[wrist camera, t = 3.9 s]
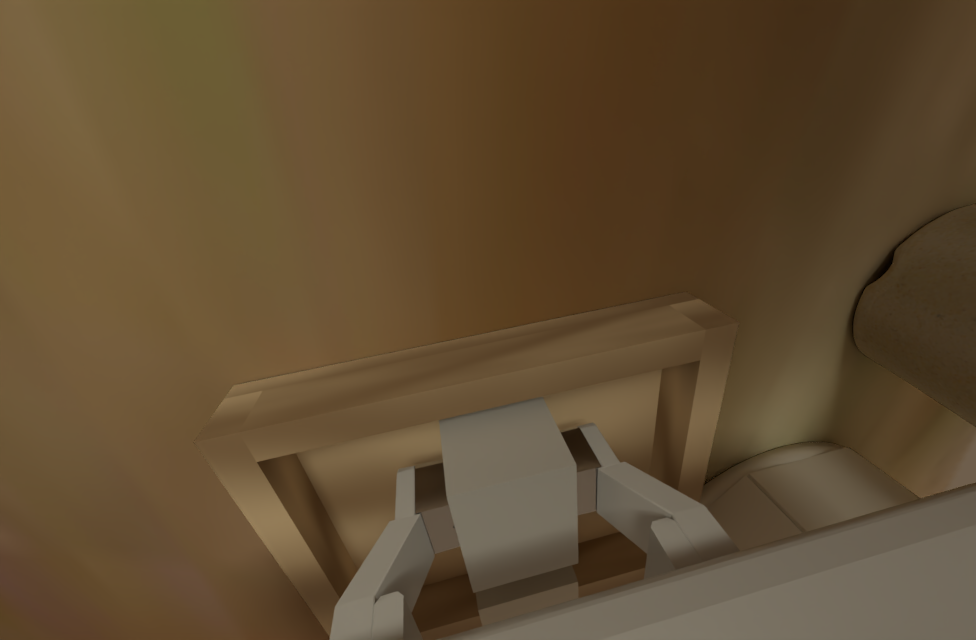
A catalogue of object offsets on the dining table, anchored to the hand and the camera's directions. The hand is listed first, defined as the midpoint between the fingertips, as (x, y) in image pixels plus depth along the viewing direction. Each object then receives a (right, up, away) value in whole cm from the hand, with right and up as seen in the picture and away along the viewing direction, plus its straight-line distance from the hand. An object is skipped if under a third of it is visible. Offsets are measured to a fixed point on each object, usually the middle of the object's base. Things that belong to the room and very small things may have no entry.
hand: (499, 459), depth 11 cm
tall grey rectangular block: (0, 0, +1) cm, 1 cm away
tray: (0, -2, +3) cm, 3 cm away
